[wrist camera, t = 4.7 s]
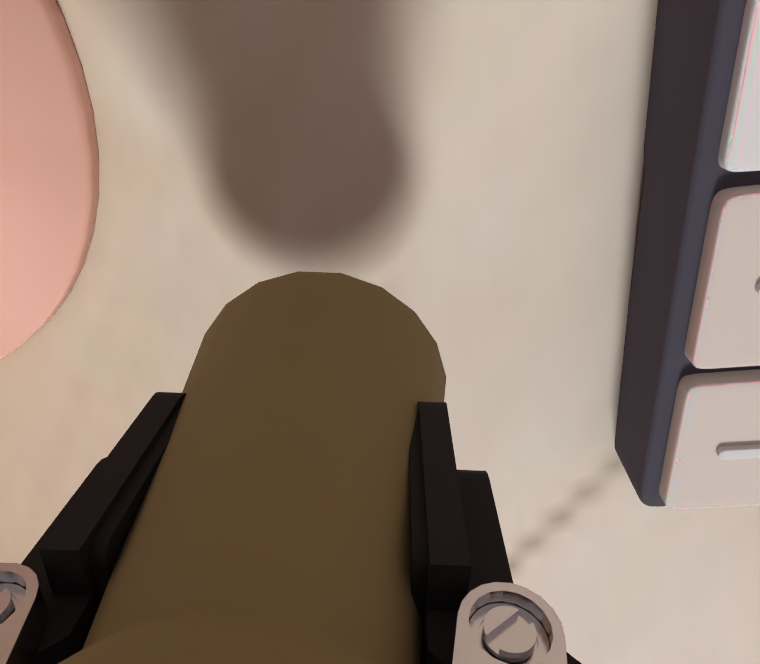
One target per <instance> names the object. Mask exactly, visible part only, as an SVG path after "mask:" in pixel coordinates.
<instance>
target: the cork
mask: <svg viewBox="0 0 760 664" xmlns="http://www.w3.org/2000/svg"><path fill="white" fill-rule="evenodd" d="M445 384H446V375H445V372H444V368H443V364H442V361H441V357H440V353H439V350H438V346H437V343H436V341H435V340H434V339H433V337H432V336H431V334H430V333H429V331H428V330H427V329H426V327H425V326H424V324H423V323H422V321H421V320H420V319H419V317H418V316H417V314H416V313H415V312H414V311H413V310H412V309H410V308H409V307H408V306H406V305H405V304H404V303H402V302H401V301H399V300H398V299H397V298H395V297H394V296H393V295H391V294H390V293H389V292H387V291H386V290H385V289H383V288H382V287H379V286H376V285H374V284H371V283H368V282H365V281H362V280H359V279H356V278H353V277H351V276H348V275H345V274H342V273H322V272H295V273H291V274H288V275H284V276H280V277H277V278H273V279H269V280H266V281H262V282H258V283H257V284H255V285H254V286H252V287H251V288H250V289H248V290H247V291H245V292H244V293H242V294H241V295H239V296H238V297H236V298H235V299H233V300H232V301H230V302H229V303H227V304H226V305H225V307H224V308H223V309H222V311H221V312H220V314H219V315H218V316H217V318H216V319H215V321H214V322H213V323H212V325H211V326H210V328H209V329H208V330H207V332H206V333H205V335H204V338H203V341H202V343H201V346H200V348H199V351H198V353H197V356H196V359H195V361H194V364H193V366H192V369H191V371H190V374H189V377H188V379H187V382H186V384H185V387H184V389H183V392H182V393H186V395H185V397H184V399H183V400H182V401H183V402H182V405H181V408H180V411H179V414H178V417H177V420H176V423H175V425H174V428H173V431H172V434H171V437H170V440H169V442H168V445H167V447H166V449H165V451H164V454H163V456H162V458H161V461H160V463H159V465H158V468H157V470H156V472H155V474H154V477H153V479H152V481H151V484H150V486H149V488H148V491H147V493H146V495H145V497H144V500H143V502H142V504H141V507H140V509H139V511H138V513H137V516H136V518H135V520H134V523H133V525H132V527H131V530H130V532H129V534H128V536H127V539H126V541H125V543H124V546H123V548H122V550H121V553H120V555H119V557H118V559H117V562H116V564H115V567H114V569H113V572H112V574H111V577H110V580H109V582H108V585H107V587H106V590H105V592H104V595H103V598H102V600H101V603H100V605H99V608H98V610H97V613H96V615H95V618H94V621H93V623H92V626H91V628H90V631H89V633H88V636H87V639H86V641H85V644H84V646H83V649H82V650H81V651H79V652H77V653H76V654H74V655H72V656H70V657H68V658H67V659H65V660H63V661H61V662H60V663H58V664H420V658H421V647H422V636H423V623H422V620H421V618H420V615H419V612H418V610H417V607H416V604H415V602H414V599H413V596H412V594H411V549H410V478H409V447H410V443H411V438H412V434H413V429H414V425H415V420H416V416H417V411H418V409H419V407H418V401H422V402H444V395H445Z"/></svg>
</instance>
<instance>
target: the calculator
mask: <svg viewBox="0 0 760 664" xmlns="http://www.w3.org/2000/svg"><path fill="white" fill-rule="evenodd" d="M644 153H645V164H646V166H645V176H644V185H643V193H642V201H641V209H640V218H639V226H638V234H637V242H636V251H635V259H634V267H633V275H632V284H631V292H630V300H629V308H628V317H627V327H626V336H625V346H624V356H623V366H622V376H621V386H620V396H619V406H618V416H617V426H616V436H615V450H616V452H617V454H618V456H619V458H620V460H621V462H622V464H623V466H624V468H625V470H626V472H627V474H628V476H629V478H630V481H631V483H632V485H633V487H634V489H635V491H636V493H637V495H638V497H639V499H640V500H641V502H642V503H644V504H645V505H648V506H666V507H668V508H670V509H692V508H714V507H735V506H756V505H760V0H658V9H657V19H656V29H655V39H654V49H653V60H652V70H651V80H650V90H649V100H648V111H647V121H646V131H645V142H644Z"/></svg>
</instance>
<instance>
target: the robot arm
mask: <svg viewBox="0 0 760 664" xmlns="http://www.w3.org/2000/svg"><path fill="white" fill-rule="evenodd" d="M185 395H186V393H168V392H157V393H155V394H154V395H153V396H152V398H151V399H150V400H149V402H148V403H147V404H146V406H145V407H144V408H143V410H142V411H141V412H140V414H139V415H138V416H137V418H136V419H135V420H134V422H133V423H132V424H131V426H130V427H129V429H128V430H127V431H126V433H125V434H124V435H123V437H122V438H121V439H120V441H119V442H118V443H117V445H116V446H115V447H114V449H113V450H112V451H111V453H110V454H109V455H108V457H106V458H104V459H102V460H101V461H100V462H99V463H98V464H97V465H96V466H95V467H94V469H93V470H92V471H91V473H90V474H89V475H88V477H87V478H86V479H85V480H84V482H83V483H82V484H81V486H80V487H79V488H78V490H77V491H76V492H75V494H74V495H73V496H72V498H71V499H70V500H69V502H68V503H67V504H66V506H65V507H64V508H63V509H62V511H61V512H60V513H59V515H58V516H57V517H56V519H55V520H54V521H53V523H52V524H51V525H50V527H49V528H48V529H47V531H46V532H45V533H44V534H43V536H42V537H41V538H40V540H39V541H38V542H37V544H36V545H35V546H34V548H33V549H32V550H31V552H30V553H29V554H28V556H27V557H26V558H25V560H24V561H23V562H22V563H21V564H18V563H0V664H58V663H60V662H61V661H63V660H65V659H67V658H68V657H70V656H72V655H74V654H76V653H77V652H79V651H81V650H82V649H83V646H84V644H85V641H86V639H87V636H88V633H89V631H90V628H91V626H92V623H93V621H94V618H95V615H96V613H97V610H98V608H99V605H100V603H101V600H102V598H103V595H104V592H105V590H106V587H107V585H108V582H109V580H110V577H111V574H112V572H113V569H114V567H115V564H116V562H117V559H118V557H119V555H120V553H121V550H122V548H123V546H124V543H125V541H126V539H127V536H128V534H129V532H130V530H131V527H132V525H133V523H134V520H135V518H136V516H137V513H138V511H139V509H140V507H141V504H142V502H143V500H144V497H145V495H146V493H147V491H148V488H149V486H150V484H151V481H152V479H153V477H154V474H155V472H156V470H157V468H158V465H159V463H160V461H161V458H162V456H163V454H164V451H165V449H166V447H167V445H168V442H169V440H170V437H171V434H172V431H173V428H174V425H175V423H176V420H177V417H178V414H179V411H180V408H181V405H182V402H183V401H182V400H183V399H184V397H185ZM418 407H419V409H418V411H417V416H416V420H415V425H414V429H413V434H412V438H411V443H410V447H409V478H410V549H411V594H412V596H413V599H414V602H415V604H416V607H417V610H418V612H419V615H420V618H421V620H422V623H423V636H422V647H421V658H420V664H581V663H580V662H579V661H577V660H576V659H575V658H573V657H572V656H571V655H570V654H568V653H567V652H566V643H565V635H564V631H563V627H562V624H561V621H560V619H559V618H558V616H557V614H556V613H555V611H554V610H553V608H552V607H551V606H550V605H549V604H548V603H547V602H546V601H545V600H544V599H543V598H542V597H541V596H539V595H537V594H536V593H534V592H532V591H531V590H529V589H527V588H525V587H522V586H519V585H516V584H513V580H512V576H511V572H510V567H509V563H508V559H507V554H506V550H505V546H504V541H503V537H502V532H501V528H500V524H499V519H498V515H497V511H496V506H495V502H494V498H493V493H492V489H491V484H490V480H489V477H488V473H487V472H486V471H472V470H457V469H456V463H455V456H454V449H453V443H452V436H451V430H450V423H449V417H448V410H447V404H446V402H422V401H418Z"/></svg>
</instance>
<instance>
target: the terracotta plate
mask: <svg viewBox="0 0 760 664" xmlns="http://www.w3.org/2000/svg"><path fill="white" fill-rule="evenodd" d="M98 199H99V154H98V146H97V138H96V131H95V123H94V115H93V110H92V106H91V102H90V98H89V94H88V90H87V86H86V82H85V78H84V74H83V70H82V66H81V63H80V61H79V58H78V55H77V52H76V50H75V47H74V44H73V42H72V39H71V36H70V33H69V31H68V28H67V25H66V22H65V20H64V17H63V15H62V13H61V11H60V9H59V7H58V5H57V3H56V0H0V359H2V358H3V357H5V356H6V355H7V354H9V353H10V352H12V351H13V350H15V349H16V348H17V347H19V346H20V345H21V344H23V343H24V342H25V341H27V340H28V339H29V338H31V337H32V336H33V335H34V334H35V333H36V332H37V331H38V330H39V329H40V328H42V327H43V326H44V325H45V324H46V323H47V322H48V321H49V320H50V319H51V318H52V317H53V316H54V315H55V313H56V312H57V310H58V309H59V308H60V306H61V305H62V303H63V302H64V301H65V299H66V298H67V296H68V295H69V294H70V292H71V291H72V288H73V286H74V284H75V282H76V280H77V278H78V276H79V274H80V272H81V270H82V268H83V266H84V264H85V260H86V257H87V254H88V250H89V247H90V243H91V240H92V237H93V233H94V228H95V221H96V213H97V206H98Z"/></svg>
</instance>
